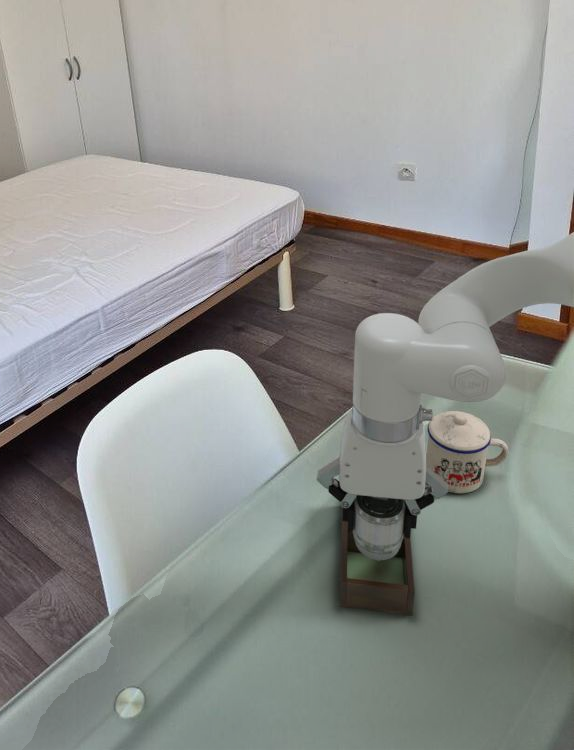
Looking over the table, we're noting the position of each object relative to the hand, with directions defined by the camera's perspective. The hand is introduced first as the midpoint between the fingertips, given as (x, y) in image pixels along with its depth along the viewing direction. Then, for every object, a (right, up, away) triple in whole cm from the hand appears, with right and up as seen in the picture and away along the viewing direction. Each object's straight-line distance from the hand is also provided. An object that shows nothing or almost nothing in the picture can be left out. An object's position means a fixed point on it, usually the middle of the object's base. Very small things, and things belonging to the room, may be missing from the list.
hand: (378, 525), depth 88 cm
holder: (+2, -7, +8) cm, 11 cm away
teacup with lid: (+19, 0, +20) cm, 28 cm away
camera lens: (0, -3, +1) cm, 3 cm away
